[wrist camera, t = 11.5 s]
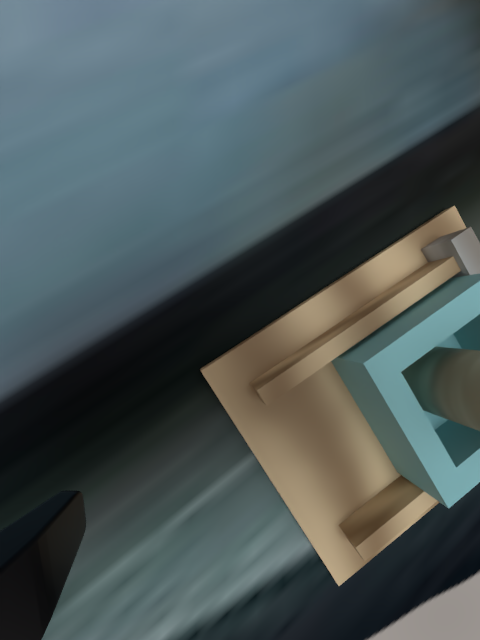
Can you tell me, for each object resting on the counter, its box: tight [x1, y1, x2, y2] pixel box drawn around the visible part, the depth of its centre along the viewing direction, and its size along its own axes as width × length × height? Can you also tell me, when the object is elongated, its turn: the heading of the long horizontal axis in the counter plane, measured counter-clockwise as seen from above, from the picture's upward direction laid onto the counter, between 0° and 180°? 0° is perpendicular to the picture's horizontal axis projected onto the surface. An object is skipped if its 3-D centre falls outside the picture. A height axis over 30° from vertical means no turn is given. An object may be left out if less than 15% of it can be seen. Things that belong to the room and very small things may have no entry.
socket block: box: [331, 273, 480, 508], centre depth 19 cm, size 9×9×4 cm
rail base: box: [200, 206, 480, 586], centre depth 20 cm, size 20×16×3 cm
